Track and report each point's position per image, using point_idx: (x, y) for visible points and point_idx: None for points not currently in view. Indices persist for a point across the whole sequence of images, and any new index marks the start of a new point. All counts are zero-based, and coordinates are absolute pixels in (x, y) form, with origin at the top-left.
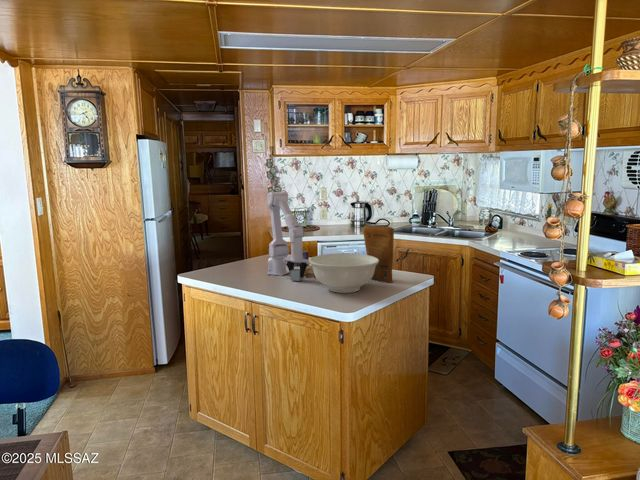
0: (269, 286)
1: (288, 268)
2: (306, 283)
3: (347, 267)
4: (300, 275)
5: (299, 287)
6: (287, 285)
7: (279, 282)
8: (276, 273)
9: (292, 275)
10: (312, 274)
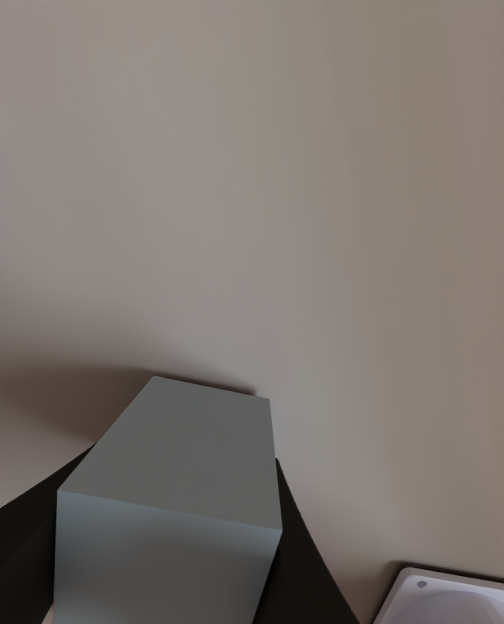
0: (492, 63)
1: (347, 612)
2: (55, 327)
3: None
4: None
5: (50, 97)
6: (247, 181)
7: (384, 315)
8: (476, 599)
9: (237, 437)
10: None
